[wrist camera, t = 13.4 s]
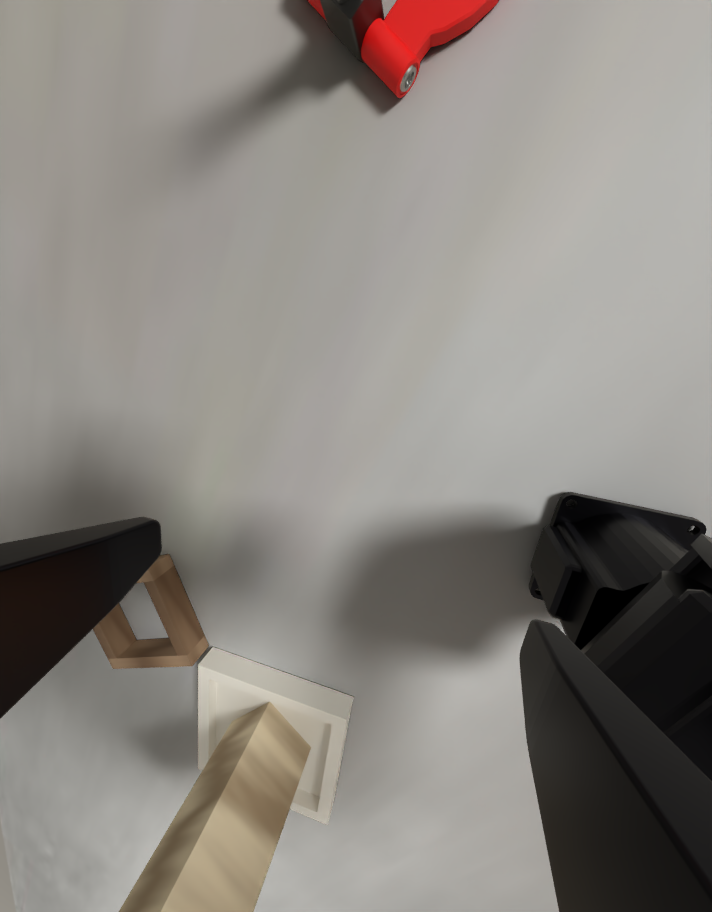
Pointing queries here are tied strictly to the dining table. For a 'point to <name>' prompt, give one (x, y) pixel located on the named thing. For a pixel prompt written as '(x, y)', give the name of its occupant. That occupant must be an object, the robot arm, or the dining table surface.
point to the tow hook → (399, 32)
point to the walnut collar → (174, 615)
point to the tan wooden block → (227, 822)
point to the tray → (299, 701)
